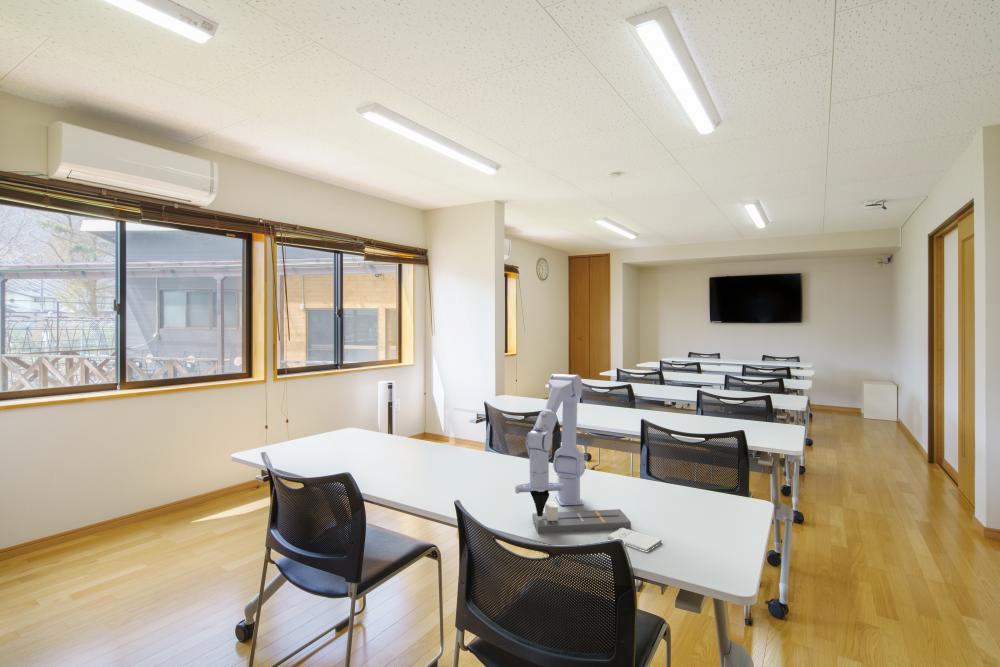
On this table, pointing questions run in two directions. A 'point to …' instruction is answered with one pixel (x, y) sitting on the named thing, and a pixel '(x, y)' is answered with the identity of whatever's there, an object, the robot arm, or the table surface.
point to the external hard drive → (635, 539)
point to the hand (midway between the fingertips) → (539, 515)
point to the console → (582, 521)
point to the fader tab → (551, 511)
